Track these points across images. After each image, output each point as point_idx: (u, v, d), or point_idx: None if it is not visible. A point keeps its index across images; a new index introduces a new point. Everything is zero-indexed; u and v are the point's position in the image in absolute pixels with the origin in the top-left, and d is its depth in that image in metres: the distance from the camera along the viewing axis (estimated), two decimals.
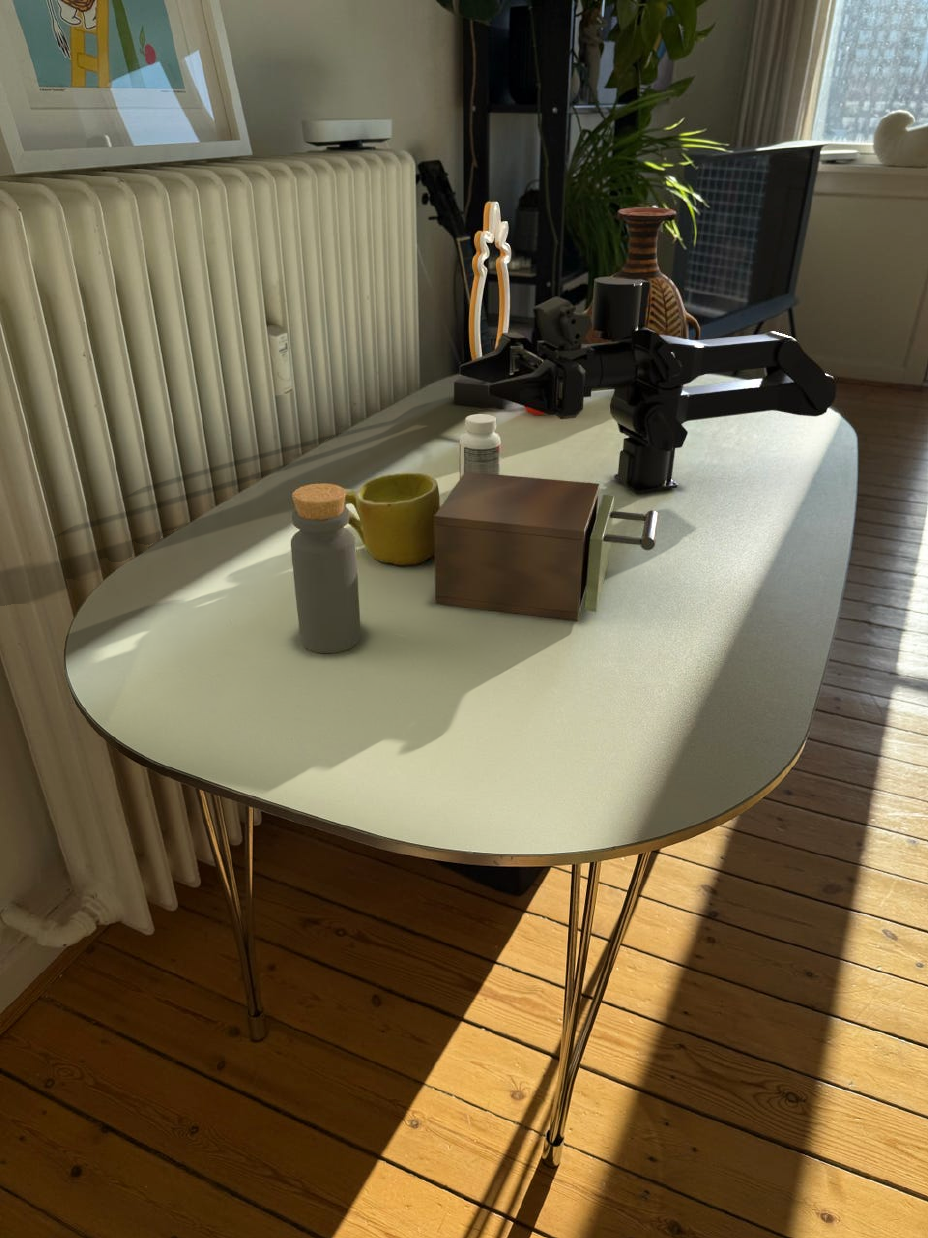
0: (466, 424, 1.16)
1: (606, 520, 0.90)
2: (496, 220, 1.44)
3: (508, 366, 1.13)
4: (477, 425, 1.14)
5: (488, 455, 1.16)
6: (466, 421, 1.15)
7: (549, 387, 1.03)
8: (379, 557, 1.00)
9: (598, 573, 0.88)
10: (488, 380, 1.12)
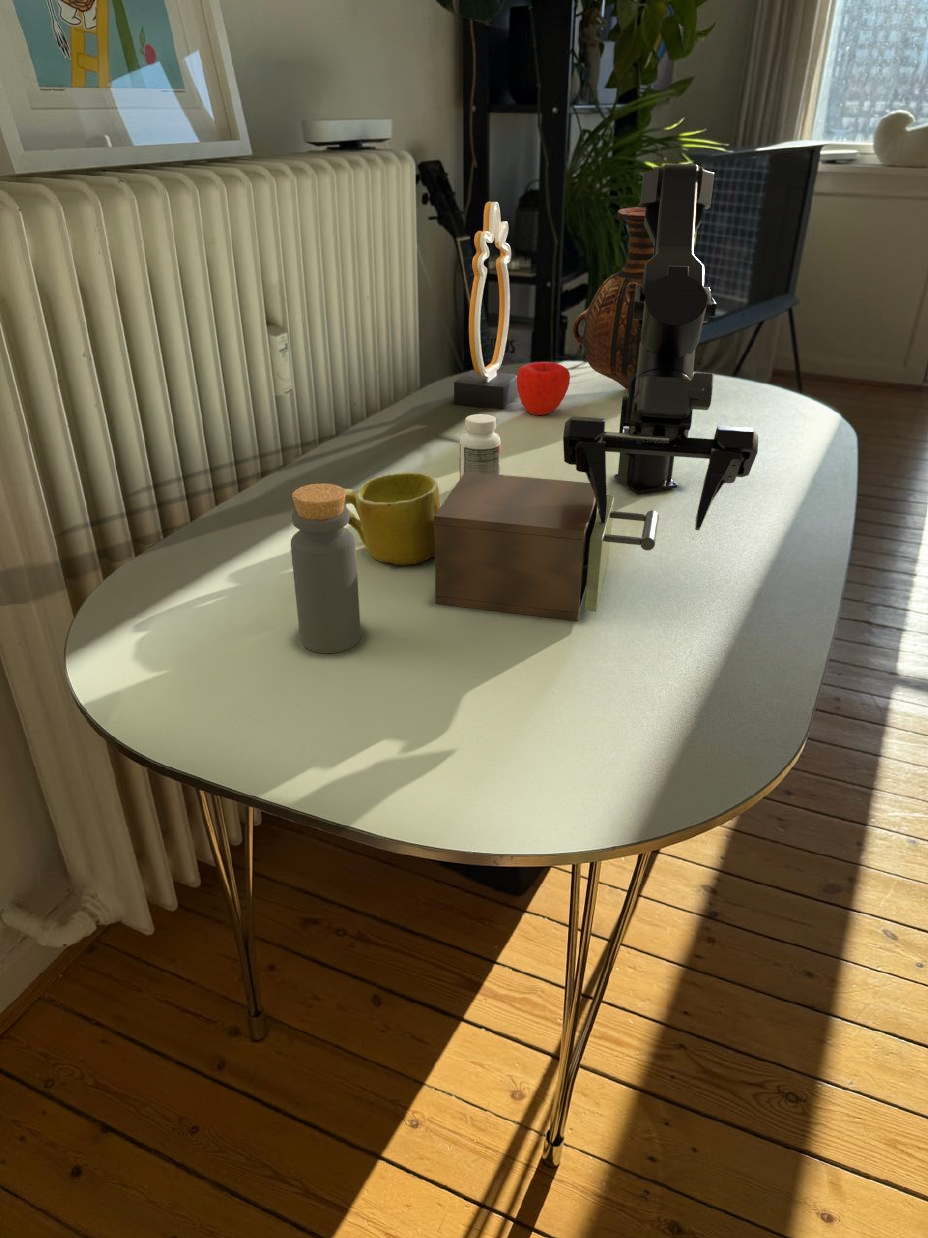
0: (466, 424, 1.16)
1: (606, 520, 0.90)
2: (496, 220, 1.44)
3: None
4: (477, 425, 1.14)
5: (488, 455, 1.16)
6: (466, 421, 1.15)
7: (729, 469, 0.88)
8: (379, 557, 1.00)
9: (598, 573, 0.88)
10: None
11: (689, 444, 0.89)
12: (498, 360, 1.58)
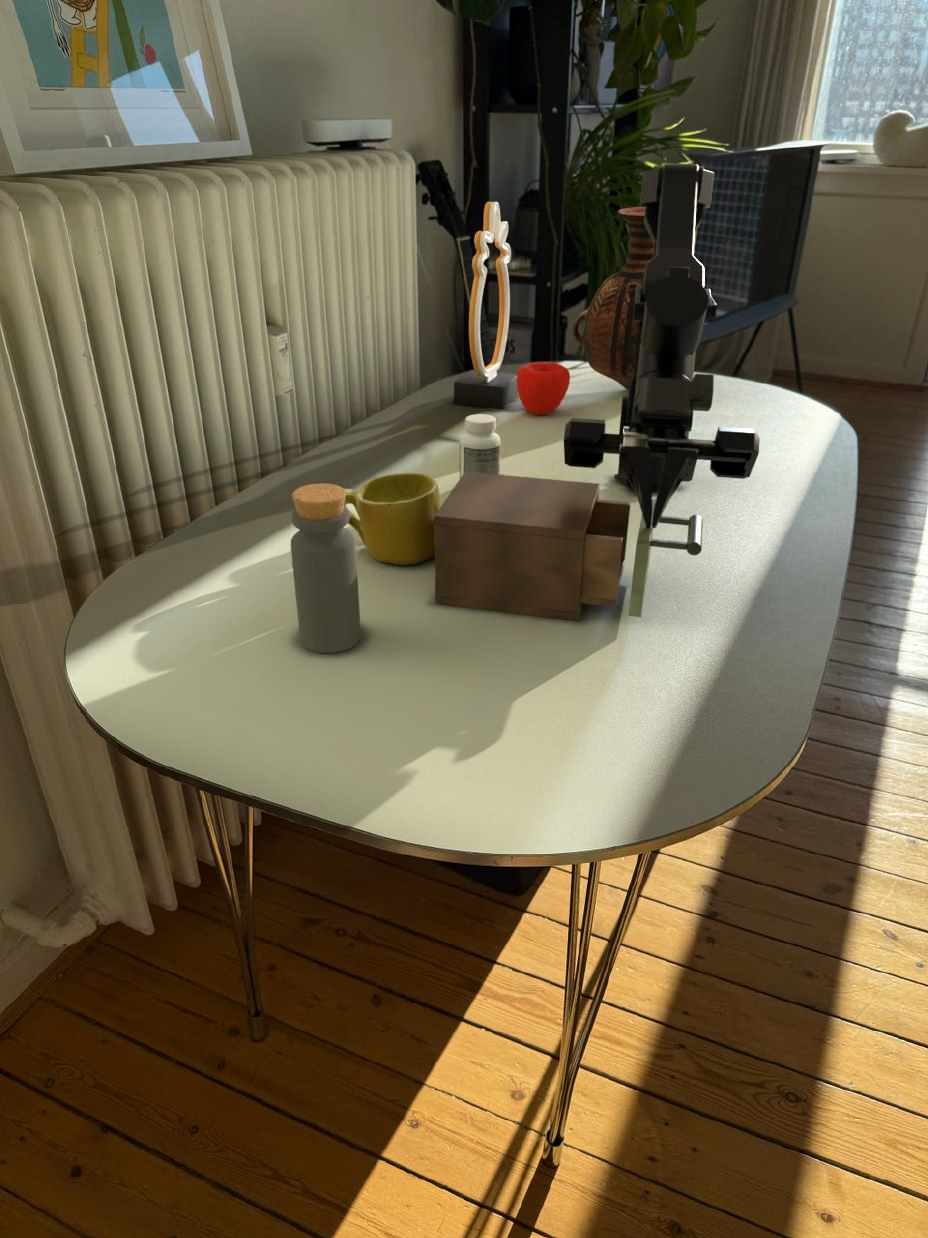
0: (466, 424, 1.16)
1: (651, 524, 0.89)
2: (496, 220, 1.44)
3: None
4: (477, 425, 1.14)
5: (488, 455, 1.16)
6: (466, 421, 1.15)
7: (686, 467, 0.89)
8: (379, 557, 1.00)
9: (644, 578, 0.87)
10: None
11: (690, 445, 0.89)
12: (498, 360, 1.58)
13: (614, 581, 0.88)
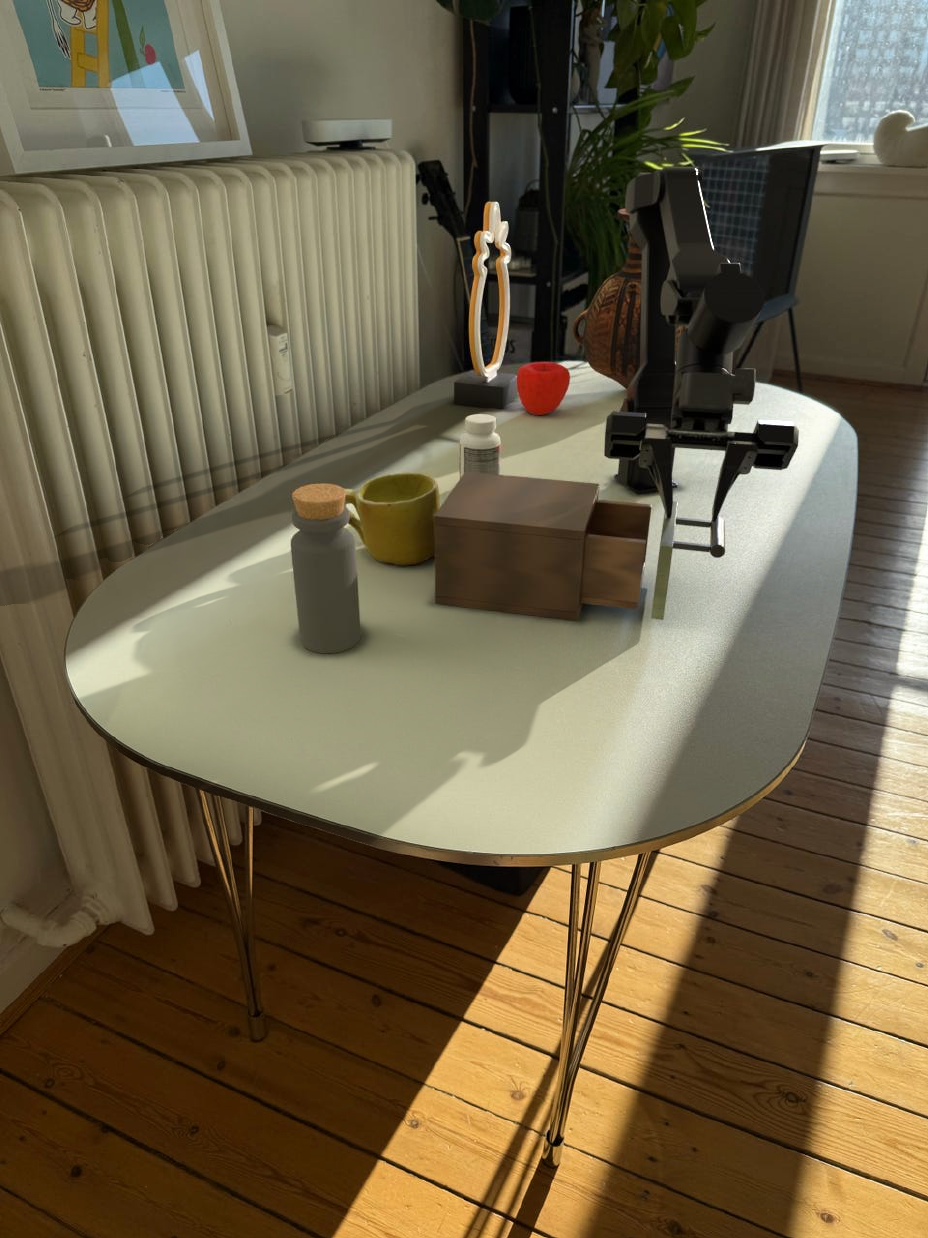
0: (466, 424, 1.16)
1: (673, 527, 0.88)
2: (496, 220, 1.44)
3: None
4: (477, 425, 1.14)
5: (488, 455, 1.16)
6: (466, 421, 1.15)
7: (745, 461, 0.90)
8: (379, 557, 1.00)
9: (667, 581, 0.86)
10: None
11: (729, 438, 0.91)
12: (498, 360, 1.58)
13: (636, 584, 0.88)
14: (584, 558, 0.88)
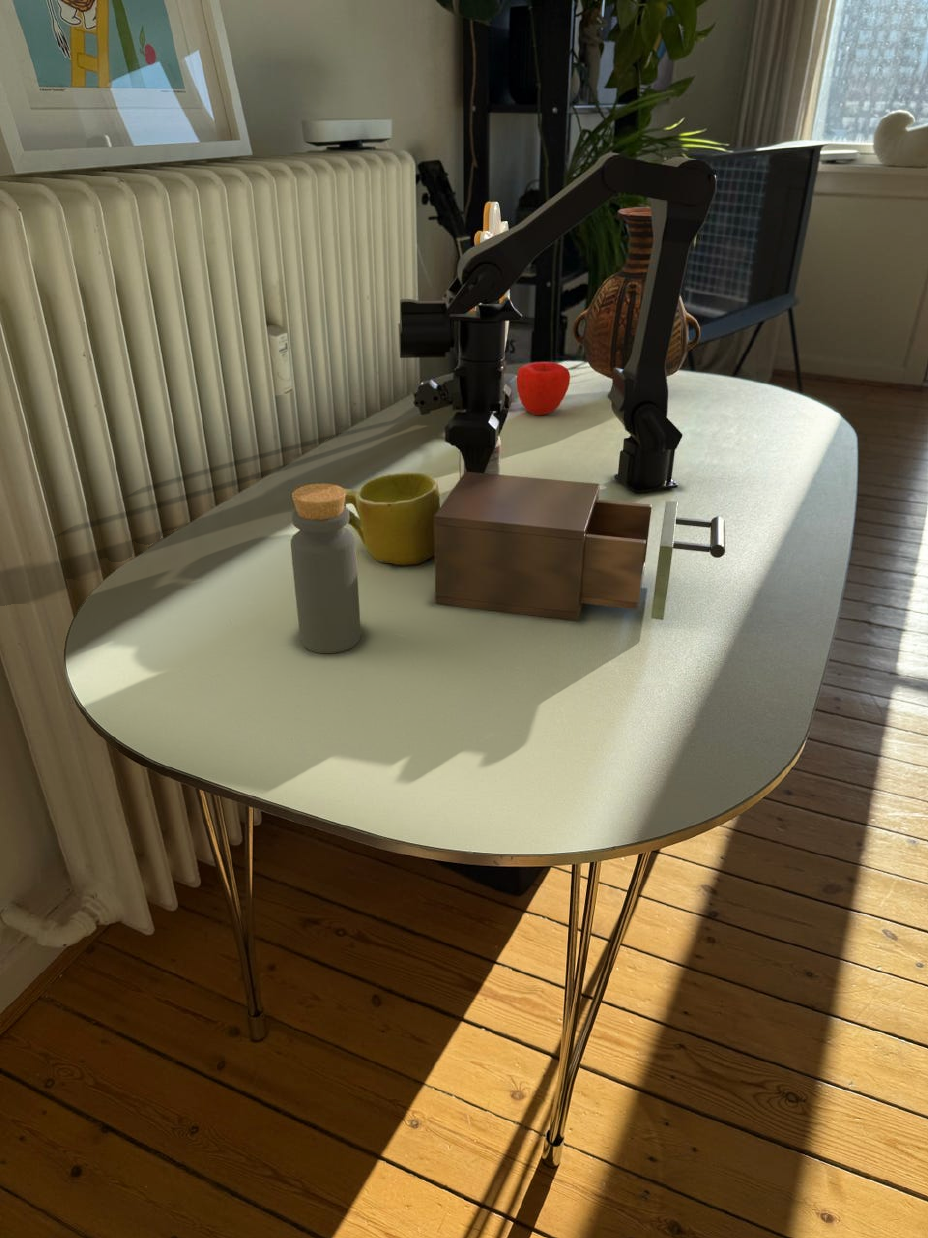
0: None
1: (673, 527, 0.88)
2: (496, 220, 1.44)
3: None
4: None
5: None
6: None
7: None
8: (379, 557, 1.00)
9: (667, 581, 0.86)
10: None
11: None
12: None
13: (636, 584, 0.88)
14: (584, 558, 0.88)
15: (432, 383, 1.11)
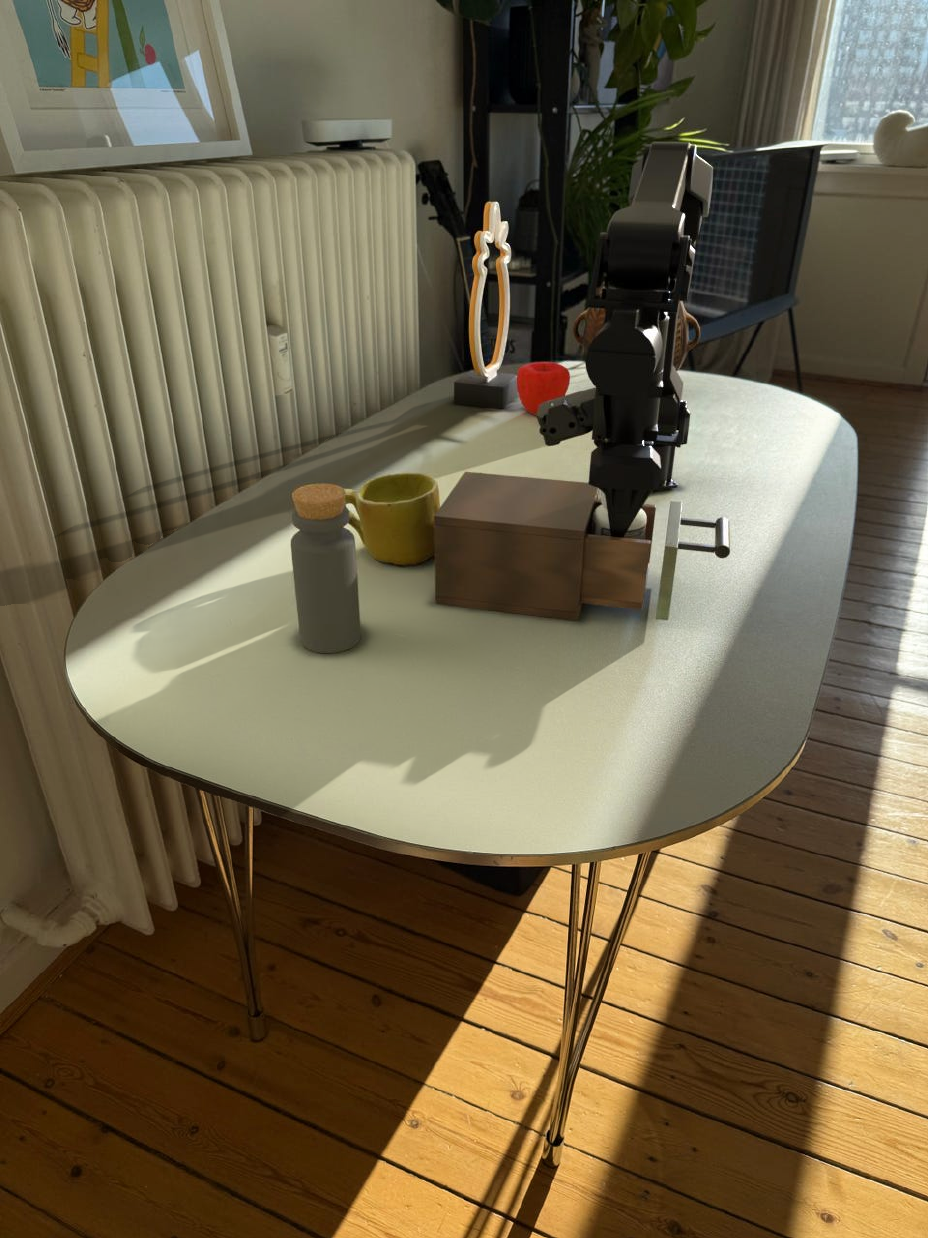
0: (605, 498, 0.88)
1: (678, 527, 0.88)
2: (496, 220, 1.44)
3: None
4: None
5: (633, 538, 0.89)
6: None
7: None
8: (379, 557, 1.00)
9: (672, 581, 0.86)
10: None
11: None
12: (498, 360, 1.58)
13: (641, 584, 0.88)
14: (589, 559, 0.88)
15: (567, 404, 0.82)
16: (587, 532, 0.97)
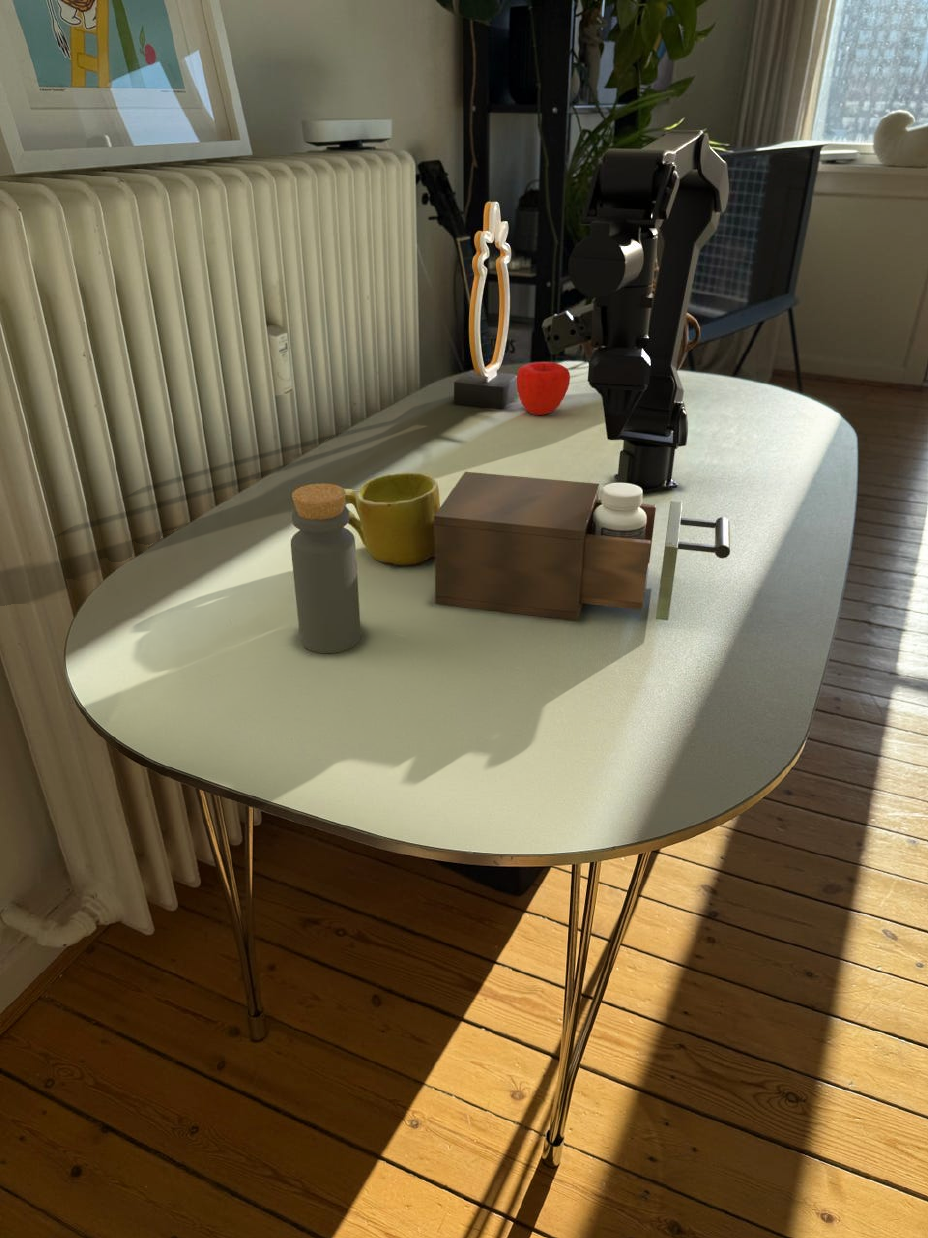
0: (605, 498, 0.88)
1: (678, 527, 0.88)
2: (496, 220, 1.44)
3: None
4: (622, 500, 0.87)
5: (633, 538, 0.89)
6: (605, 494, 0.88)
7: None
8: (379, 557, 1.00)
9: (672, 581, 0.86)
10: None
11: None
12: (498, 360, 1.58)
13: (641, 584, 0.88)
14: (589, 559, 0.88)
15: (568, 314, 0.94)
16: (587, 532, 0.97)
